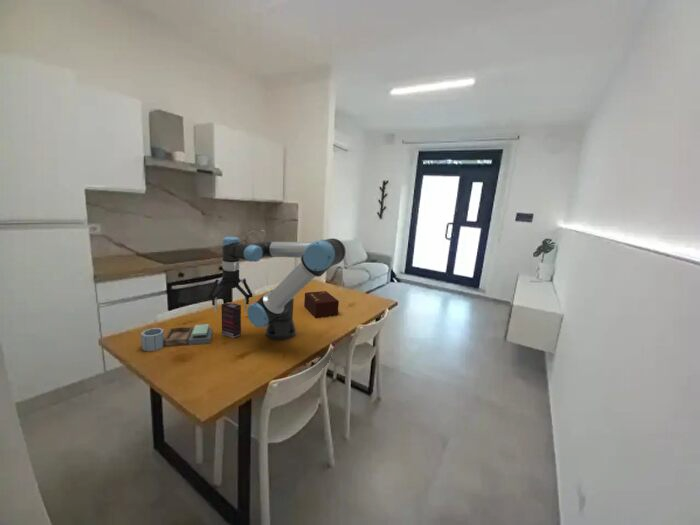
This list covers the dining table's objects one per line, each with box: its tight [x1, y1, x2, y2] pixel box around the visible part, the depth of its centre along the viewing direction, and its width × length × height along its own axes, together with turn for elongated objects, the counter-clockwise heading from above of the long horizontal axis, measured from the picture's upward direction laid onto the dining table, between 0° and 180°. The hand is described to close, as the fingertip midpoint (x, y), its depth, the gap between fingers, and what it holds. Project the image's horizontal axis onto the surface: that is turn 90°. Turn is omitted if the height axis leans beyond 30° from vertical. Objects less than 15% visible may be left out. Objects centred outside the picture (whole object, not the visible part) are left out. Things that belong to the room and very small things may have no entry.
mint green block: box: [192, 323, 210, 336], centre depth 143 cm, size 6×10×4 cm, turn 19°
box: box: [303, 290, 340, 319], centre depth 190 cm, size 21×16×10 cm
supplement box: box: [221, 301, 242, 339], centre depth 149 cm, size 9×5×16 cm, turn 64°
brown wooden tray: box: [163, 326, 194, 348], centre depth 141 cm, size 10×14×3 cm
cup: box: [140, 327, 165, 352], centre depth 132 cm, size 8×8×7 cm
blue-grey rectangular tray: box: [187, 327, 214, 346], centre depth 144 cm, size 9×12×2 cm
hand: (230, 310), depth 148 cm, fingers open, 13 cm apart
